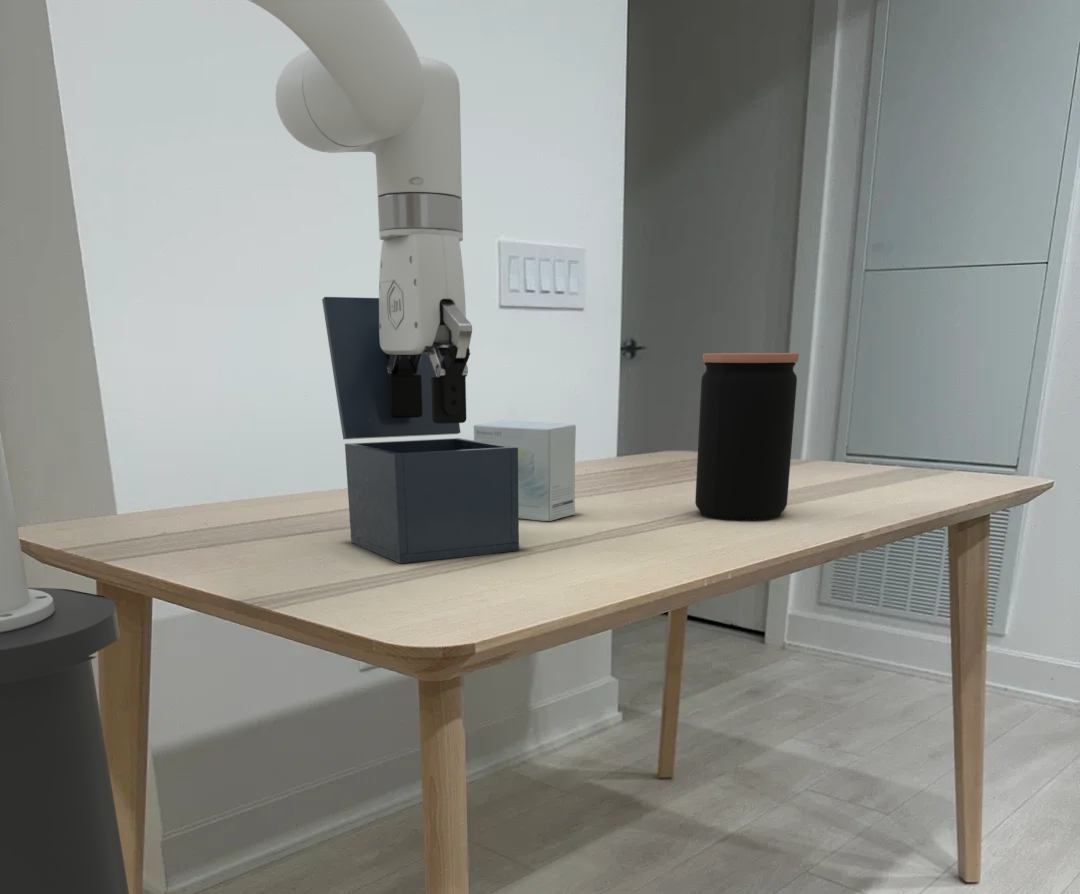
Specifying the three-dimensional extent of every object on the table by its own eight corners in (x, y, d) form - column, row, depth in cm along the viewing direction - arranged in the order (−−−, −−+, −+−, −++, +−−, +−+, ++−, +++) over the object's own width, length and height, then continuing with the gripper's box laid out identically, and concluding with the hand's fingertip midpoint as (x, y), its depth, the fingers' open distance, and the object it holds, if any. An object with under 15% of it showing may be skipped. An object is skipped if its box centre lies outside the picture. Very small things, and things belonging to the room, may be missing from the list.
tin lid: (442, 299, 104) (439, 301, 104) (324, 296, 98) (321, 299, 98) (460, 432, 105) (457, 434, 106) (345, 438, 99) (342, 439, 100)
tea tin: (519, 550, 99) (518, 447, 96) (400, 563, 93) (394, 454, 90) (461, 531, 109) (459, 437, 106) (351, 542, 103) (344, 443, 100)
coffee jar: (803, 514, 120) (817, 353, 114) (751, 524, 113) (763, 353, 107) (729, 505, 127) (738, 353, 121) (676, 514, 120) (683, 353, 114)
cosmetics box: (473, 514, 120) (471, 423, 117) (503, 508, 126) (502, 419, 122) (548, 522, 115) (548, 426, 112) (576, 514, 120) (577, 423, 117)
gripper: (347, 229, 96) (357, 416, 102) (422, 208, 82) (429, 426, 88) (419, 233, 100) (425, 414, 106) (503, 214, 86) (505, 424, 92)
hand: (427, 419), depth 97 cm, fingers open, 9 cm apart
